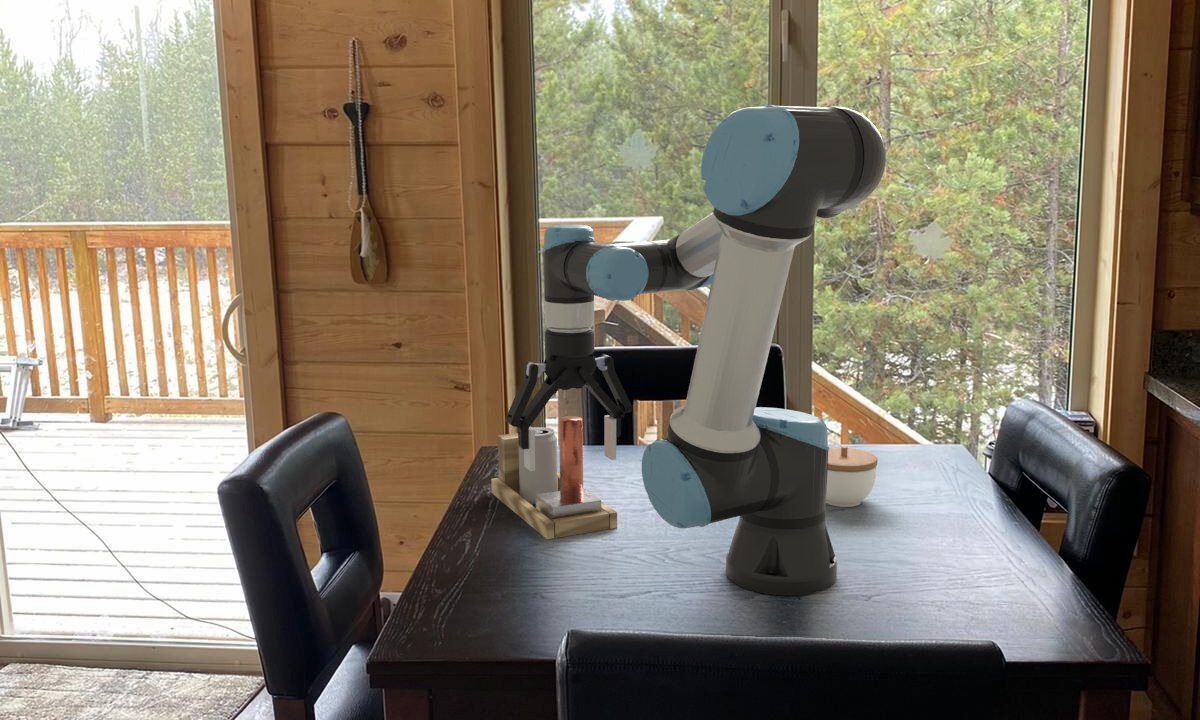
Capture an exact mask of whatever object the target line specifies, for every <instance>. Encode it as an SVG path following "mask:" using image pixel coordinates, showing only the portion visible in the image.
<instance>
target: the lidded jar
mask: <svg viewBox="0 0 1200 720" xmlns="http://www.w3.org/2000/svg"><path fill="white" fill-rule="evenodd" d="M877 465H878V458H877V455H875V454H874V453H872V452H870V451H866V450H863V449H856V448H850V447H848V446H847V445H841V447H829V451H828V469H827V491H826V505H829V506H832V507H839V508H851V507H852V508H853V507H857V506H860V505H861V504H862V502H863V501H864V500H865V499H866V498H867V497H869V495H870V494H871V492H872V490H873V489H874V485H875V482H876V477H877Z"/></svg>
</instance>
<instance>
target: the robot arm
mask: <svg viewBox="0 0 1200 720" xmlns="http://www.w3.org/2000/svg"><path fill="white" fill-rule="evenodd" d="M886 162H887V152H886V147H885V142H884V139H883V138H882V135H881V133H880V131H879V129H877V127H876V126H875V124H873V122H872V121H871V120H869V119H868V117H866V116H865V115H863V114H861V113H860V112H858V111H856V110H853V109H850V108H847V107H842V106H792V105H791V106H789V105H787V106H786V105H775V104H764V105H760V106H752V107H742V108H739V109H736V110H735V111H733V112H731V113H730V114H729V115H727V116H726V117H724V118H723V119H721V120H720V121H719V122H718V124H717V125H716V126H715V127H714V128H713V130H712V131H711V133H710V135H709V137H708V139H707V141H706V143H705V146H704V150H703V153H702V158H701V166H700V177H701V179H702V181H705V182H704V184H703V186H702V188H703V192H704V194H705V196H706V198H707V200H708V202H709V204H711V205H712V207H713V211H712V212H711V213H710V214H708V215H707V216H705V217H703V218H702V219H700V220H699V221H697V222H695V223H694V224H692V225H691V226H689V227H687V228H686V229H685V230H683V231H681V232H679V233H678V234H676V235H675V236H673V237H671V238H669V239H663V240H651V241H637V242H624V243H622V242H621V243H599V242H596V240H595V235H594V230H593V228H592V227H591V226H590V225H585V224H557V225H550V226H548V227H546V229H545V230H544V234H543V250H542V256H543V259H542V261H543V263H542V264H543V291H544V292H543V293H544V294H543V295H544V300H543V301H544V302H543V303H544V308H543V309H544V326H545V327H547V328H546V329H545V330H544V355H545V357H544V361H543V363H540V362H539V363H535V362H533V361H532V362H531V361H529V360H528V361H526V362H525V365H524V375H523V378H522V380H521V382H520V385H519V387H518V389H517V391H516V394H515V396H514V398H513V400H512V403H511V405H510V407H509V410H508V412H507V414H506V416H505V422H506V423H507V424H508V425H510V426H512V427H513V428H515V427H516V428H517V433H518V445H519V447H520V448H521V449H524V467H526V468H527V469H528V470H530V471H535V429H534V428H532V427H533V426H532V424H533V423H534V422H535V420H536V419H537V418H538V416H539V415H540V413H541V412H542V410H543V409H544V408H545V407H546V406H547V403H548V402H549V401H550V400H551V398H552V397H553V396H554V395H556V394H557V392H558V391H559V390H562V391H567V390H571V389H583V387H584V386H585V387H586V388H587V389H588V391H589V392H590V393H591V394H592V395H593V396H594V397H595V399H596V400H597V401H598V402H599V403H600V404H601V406H603V407H604V409H605V410H606V411H607V413H609V414H607V415H604V417H603V419H604V426H603V427H604V429H603V430H604V431H603V432H604V456H605V457H606V458H608V459H610V460H613V461H615V460H617V438H620V437H621V434H622V420H623V419H624V418H625V414H628V413H629V414H630V413H631V412H633V406H632V404H631V401H630V399H629V398H628V395H627V393H626V391H625V389H624V387H623V385H622V383H621V381H620V378H619V377H618V375H617V372H616V370H615V361H614V358H613V357H612V356H610V355H607V354H604V353H602V354H601V355H600V356H599V357H595V330H594V329H593V328H592V327H593V326H594V325H595V297H599V298H602V299H605V300H608V301H612V302H613V301H622V302H623V301H624V302H626V301H630V300H632V299H634V298H636V297H638V295H646V294H653V293H654V294H655V293H663V292H665V293H666V292H675V291H676V292H677V291H693V290H698V289H699V288H700V289H701V288H706V287H709V286H710V288H709V292H708V297H707V302H706V307H705V310H704V311H705V312H704V316H703V319H702V326H701V330H700V335H699V339H698V343H697V349H696V352H695V353H696V354H695V358H694V361H693V362H694V363H693V368H692V371H691V377H690V380H689V381H690V383H689V386H688V391H687V396H686V400H685V403H684V405H681V406H679V407H678V408H677V409H674V411H673V412H672V413H671V414H670V418H669V421H668V428H667V432H666V435H665V438H664V439H662V438H657V439H656V440H654V441H653V442H651V443H650V444H648V445H647V446H646V448H645V449H644V451H643V455H642V458H641V477H642V482H643V486H644V489H645V492H646V494H647V497H648V500H649V503H651V505H652V507H653V509H654V510H655V512H656V513H657V514H658V515H659V517H660V518H661V519H662V520H663V521H665V522H666V523H667V524H668V525H670V526H672V527H674V528H677V529H690V528H696V527H700V528H704V527H705V526H708V525H711V524H713V523H717V522H720V521H721V522H722V521H725V520H729V519H733V518H737V517H739V518H738V519H739V520H738V523H737V525H736V528H735V532H734V534H733V537H732V540H731V542H730V546H729V550H728V551H727V553H726V558H725V575H726V577H727V578H728V579H729V580H730V581H731V582H732V583H734V584H736V585H738V586H739V587H741V588H743V589H746V590H749V591H753V592H757V593H762V594H765V595H766V594H767V595H775V596H801V595H810V594H814V593H819V592H821V591H824V590H827V589H828V588H830V587H831V586H833V585H834V584H835V583H836V581H837V576H838V575H837V572H838V571H837V570H838V569H837V568H838V563H837V557H836V555H835V552H834V549H833V545H832V541H831V539H830V538H831V537H830V535H829V531H828V528H827V525H826V517H827V515H826V512H827V508H826V507H827V503H826V491H827V469H828V451H829V448H830V447H829V446H828V445H829V444H828V443H829V442H828V440H829V439H828V438H829V437H828V427H827V424H826V423H825V421H824V420H823V419H821V417H818V416H816V415H812V414H810V413H807V412H804V411H803V412H802V411H798V410H792V409H785V408H777V407H763V406H759V407H757V403H758V398H759V395H760V390H761V386H762V382H763V378H764V374H765V371H766V366H767V363H768V357H769V354H770V350H771V345H772V341H773V337H774V334H775V329H776V325H777V322H778V316H779V312H780V310H781V309H780V308H781V305H782V302H783V301H782V300H783V297H784V293H785V288H786V284H787V280H788V276H789V272H790V268H791V264H792V260H793V256H794V253H795V252H794V251H795V247H797V245H799V244H801V243H803V242H805V241H806V240H807V241H808V239H809V238H811V237H812V234H813V230H814V226H815V222H816V219H822V220H829V219H832V218H834V217H837V216H838V215H840V214H842V213H844V212H846V211H847V210H850V209H852V208H853V207H855V206H857V205H858V204H860V203H862V202H863V201H865V200H866V199H868V197H870V196H871V195H872V194H873V193H874V191H875V190H877V188H878V186H879V184H880V183H881V181H882V178H883V175H884V172H885V169H886ZM596 368H597V369H598V370H600V371H601V373H602V375H603V377H604V379H605V381H606V383H607V385H608V387H609V388H610V391H611V393H612V396H613V397H614V400H615V402H616V403H615V402H614V401H613V400H612V399H611V397H609V395H608V394H607V393H606V391H604V390H603V389H602V387H601V386H600V385H599V383H598V382H597V381H596V380H595V378H594V377H593V376H592V375H593V374H594V372H595V370H596ZM542 373H545V376H546V378H545V379H544V381H543V382H542V383H541V386H540V388H539V389H538V391H537V393H536V394H535V395H534V396H533V397H532V399H531V401H530V398H531V396H532V393H533V391H534V389H535V388H536V387H535V386H536V384H537V381H538V378H540V377H541V376H542ZM529 401H530V402H529Z"/></svg>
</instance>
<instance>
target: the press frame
mask: <svg viewBox="0 0 1200 720" xmlns="http://www.w3.org/2000/svg"><path fill="white" fill-rule="evenodd" d="M497 452H498V453H497V454H498V455H497V456H498V457H497V458H498V477H496V478H495V477H494V478H491V480H490V481H491V487H490V488H491V489H490V490H491V494H492V495H493V496H494V497H496V498H497V499H498V500H499V501H500V502H502V503H503V504H504V505H505V506H507V508H509V509H510V510H511V511H513V512H514V513H515V514H516V515H517V516H518V517H520V518H521V520H524V522H525V523H527V524H528V525H529V526H530V527H531V528H533V529H534V530H535V531H536V532H537V533H539V534H540V535H541V536H542V537H543V538H544V539H546V540H553V539H557V538H563V537H570V536H575V535H581V534H588V533H592V532H593V533H594V532H600V531H605V530H609V529H610V530H611V529H616V528H618V511H616V510H615V509H613V508H612V507H610V506H608V504H606V503H605V502H602V501H601V512H596V513H589V514H583V515H577V516H571V517H565V518H558V519H552V521H551V520H550V519H549V518H548V517H546V516H545V515H544V514H543V513H541V512H540V511H539V510H538V509H536V506H534V504H530V503H529V502H527V501H526V500H525V499H524V498H522V497H521V496H520V482H519V446H518V432H514V433H508V434H498V435H497ZM557 474H558V491H560V471H557Z"/></svg>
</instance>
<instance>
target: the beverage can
mask: <svg viewBox="0 0 1200 720" xmlns="http://www.w3.org/2000/svg"><path fill="white" fill-rule="evenodd" d="M531 427H532V428H534V429H535V471H530V470H528V469H527V468H526V467H524V449H521V448H520V447H519V482H520V496H521V497H522V498H524V499H525V500H526V501H527V502H529V503H530V504H531V505H536V495H537V494H543V493H550V492H557V491H558V474H557V472H558V440H557V439H558V438H557V436H556V434H555V430H554V429H553V428H550V427H545V426H544V427H543V426H537V427H536V426H535V427H534V426H531ZM518 446H519V445H518Z"/></svg>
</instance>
